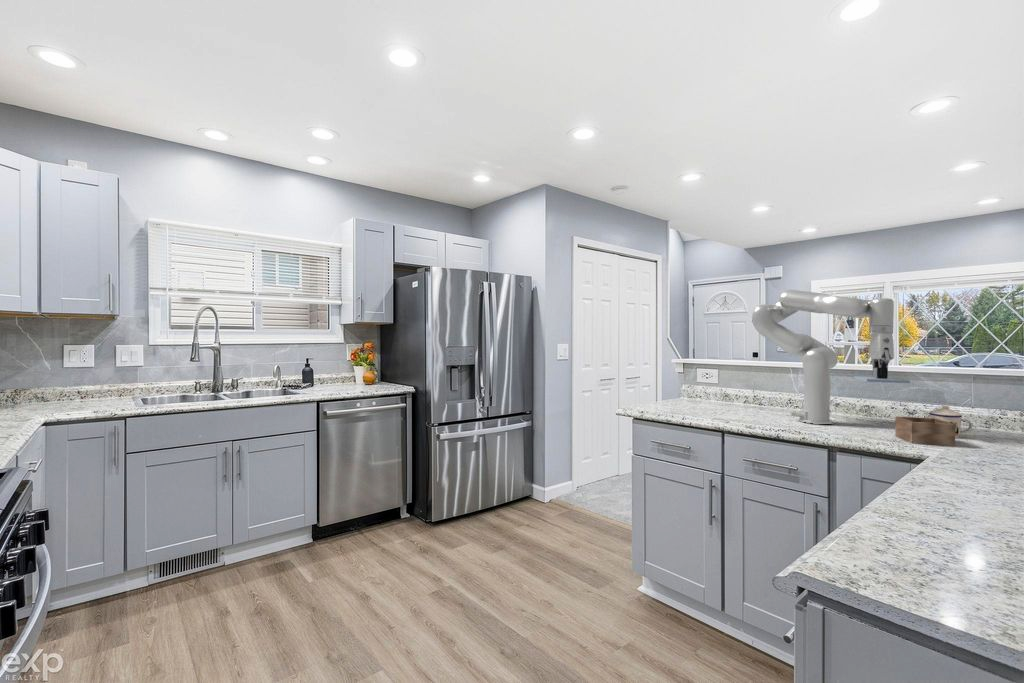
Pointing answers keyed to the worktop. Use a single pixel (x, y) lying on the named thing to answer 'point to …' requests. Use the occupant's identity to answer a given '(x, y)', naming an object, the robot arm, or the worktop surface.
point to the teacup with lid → (950, 419)
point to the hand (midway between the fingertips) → (879, 377)
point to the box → (925, 431)
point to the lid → (876, 379)
